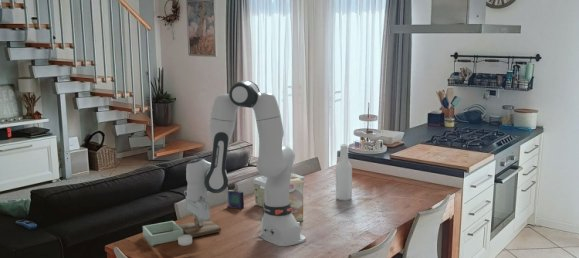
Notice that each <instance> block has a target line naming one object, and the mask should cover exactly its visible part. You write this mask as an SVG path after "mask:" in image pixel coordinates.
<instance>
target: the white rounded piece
mask: <svg viewBox="0 0 579 258" xmlns="http://www.w3.org/2000/svg"><path fill="white" fill-rule="evenodd" d="M177 243H178V245H179V246H182V247H184V246H189V245H192V244H193V237H192V236H191V235H185V234H184V235H181V236H179V237H178V240H177Z"/></svg>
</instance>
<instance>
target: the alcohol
mask: <svg viewBox="0 0 579 258" xmlns="http://www.w3.org/2000/svg"><path fill="white" fill-rule="evenodd" d="M348 146H349V145H348V144H343V143H342V144H340V151H339V152H340V153H339V161H338V163H336V166H335V198H336V199H337V200H338V201H350V200H351V199H352V197H353V190H352V189H353V166H352V164H351V163H350V161H349V150H348V148H349V147H348Z"/></svg>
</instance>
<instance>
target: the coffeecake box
mask: <svg viewBox="0 0 579 258" xmlns="http://www.w3.org/2000/svg"><path fill="white" fill-rule="evenodd" d="M289 202H290V205H291V208H292V209H291V210H292V214H293V216H294V217H295V219H296V221H297V222H302V221H304V187H303V181H302V180H301V179H292V178H291V179H290V186H289Z"/></svg>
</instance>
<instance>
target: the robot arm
mask: <svg viewBox="0 0 579 258" xmlns="http://www.w3.org/2000/svg"><path fill="white" fill-rule="evenodd" d="M229 89H230V90H229V93H221V94H218V95H216V96H215V98H214V100H213V104H212V107H211V108H212V109H211V112H210V113H211V114H210V120H209V122H210V126H209V127H210V128H209V129H210V138H211V142H212V143H211V144H212V153H211V161H207V160H206V159H204V158H201V157H199V158H198V157H197V158H194V159H193V158H192V160H189V161H188V162H187V164H186V168H185V171H186V172H185V175H186V176H185V177H186V178H185V179H186V182H187V187H186V190H184V192H183V193H184V196H185V203H186V208H187V210H188V211H189V212H191V213H192V216H193V219H194V218H199V221H198V225H199V226H202V225H203V220H207V219H209V220H210V219H211V211H210V205H209V202H208V201H207V200H206V199H208V192H209V193H212V194H220V193H222V192H224V191H225V190H226V189H227V187H228V184H229V178H228V173H227V170H226V169H227V168H226V164H227V155H228V149H229V146H230V142H231V139H232V137H233V133H234V130H235V126H236V119H237V113H238V110H239V109H240V108H249V109H252V110H253V113H254V117H255V121H256V127H257V133H258V158H257V160H256V165H255V166H256V170H257V172H258V173H259V175H261V177H262V176H264V177H267V181H266V184H265V187H264V192H265V203H264V208H263V216H262V217H261V224H260V232H259V234H258V237H259V238H260V239H261V240H263V241H266V242H268V243H271V244H272V245H275V246H277V247H288V246H293V245H298V244H301V243H304V242H305V241H306V240H307V238H306V237H305V236H304V234H303V233H301V221H296V219H295V217H294V216H293V214H292V210H291V209H292V208H291V205H290V202H289V186H290V179H292V178H291V173H292V171H293V166H294V163H295V159H296V154H295V151H294V150H293V149H292V148H291V147H289V146H285V145H283V138H284V135H285V132H284V126H283V120H282V116H281V111H280V107H279V103H278V101H277V99H276V96H275V95H274V94H273V93H270V92H260V88H259V86H258V85H257V84H256V83H255V82H253V81H251V80H250V81H249V80H241V81H237V82H235V83H233V85H232V86H230V88H229Z"/></svg>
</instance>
